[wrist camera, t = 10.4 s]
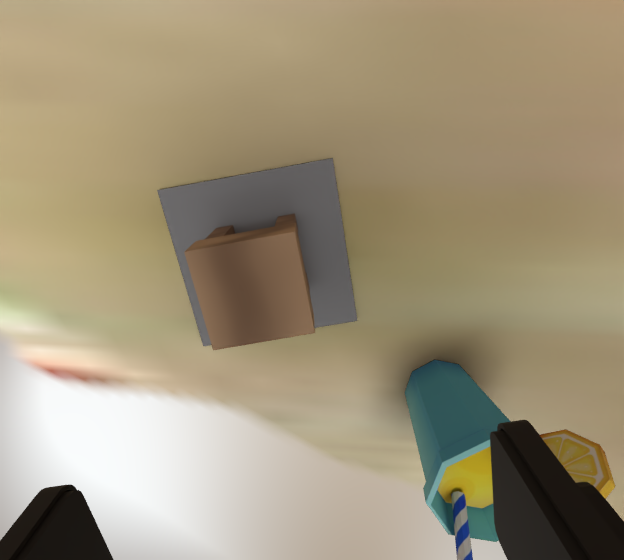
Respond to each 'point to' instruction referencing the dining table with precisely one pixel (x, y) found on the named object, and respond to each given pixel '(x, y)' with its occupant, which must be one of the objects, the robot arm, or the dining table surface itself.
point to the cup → (476, 451)
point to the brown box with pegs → (252, 284)
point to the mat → (263, 214)
